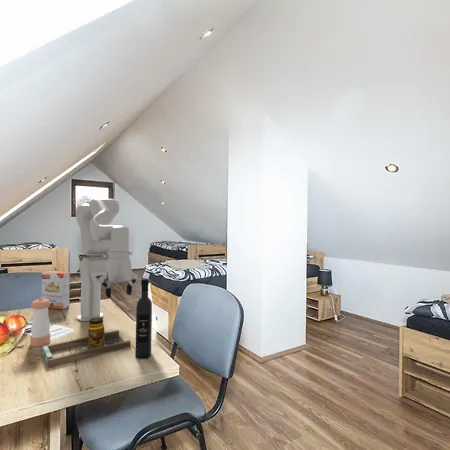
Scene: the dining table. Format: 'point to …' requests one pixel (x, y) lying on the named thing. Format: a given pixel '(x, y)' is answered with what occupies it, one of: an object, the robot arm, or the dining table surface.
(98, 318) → the condiment
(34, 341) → the pepper shaker
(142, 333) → the wine bottle
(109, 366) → the dining table surface
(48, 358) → the trap lane
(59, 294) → the cracker box
